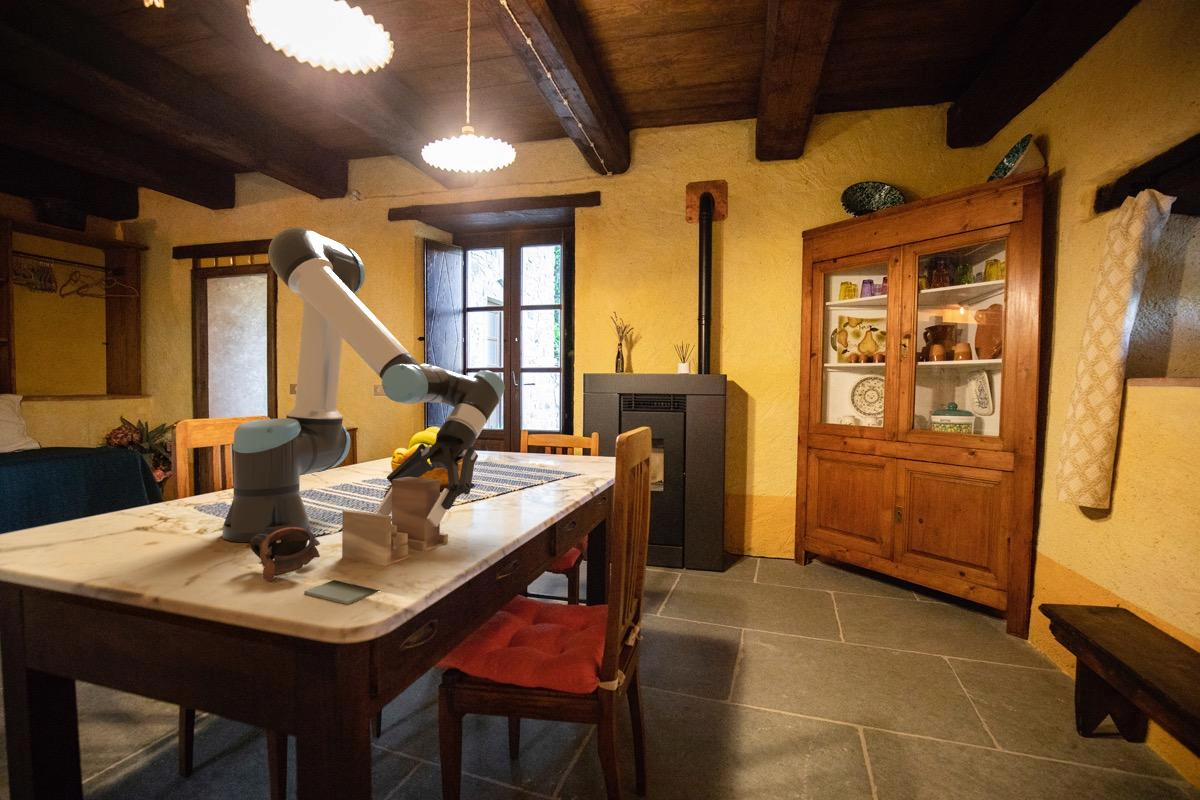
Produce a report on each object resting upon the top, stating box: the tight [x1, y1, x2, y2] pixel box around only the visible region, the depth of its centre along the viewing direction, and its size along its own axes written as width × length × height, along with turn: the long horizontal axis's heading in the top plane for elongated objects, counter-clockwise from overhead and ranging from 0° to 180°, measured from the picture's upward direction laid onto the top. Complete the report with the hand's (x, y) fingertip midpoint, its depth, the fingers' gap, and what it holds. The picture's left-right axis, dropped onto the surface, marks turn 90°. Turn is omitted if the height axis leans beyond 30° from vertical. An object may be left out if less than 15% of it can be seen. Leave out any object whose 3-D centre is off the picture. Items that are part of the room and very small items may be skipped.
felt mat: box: [304, 579, 381, 605], centre depth 79 cm, size 9×9×1 cm
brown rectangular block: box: [391, 477, 441, 548], centre depth 99 cm, size 4×8×12 cm, turn 66°
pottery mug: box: [249, 527, 321, 582], centre depth 86 cm, size 12×10×8 cm
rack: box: [341, 509, 452, 567], centre depth 95 cm, size 16×10×9 cm, turn 156°
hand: (405, 518), depth 96 cm, fingers open, 12 cm apart
